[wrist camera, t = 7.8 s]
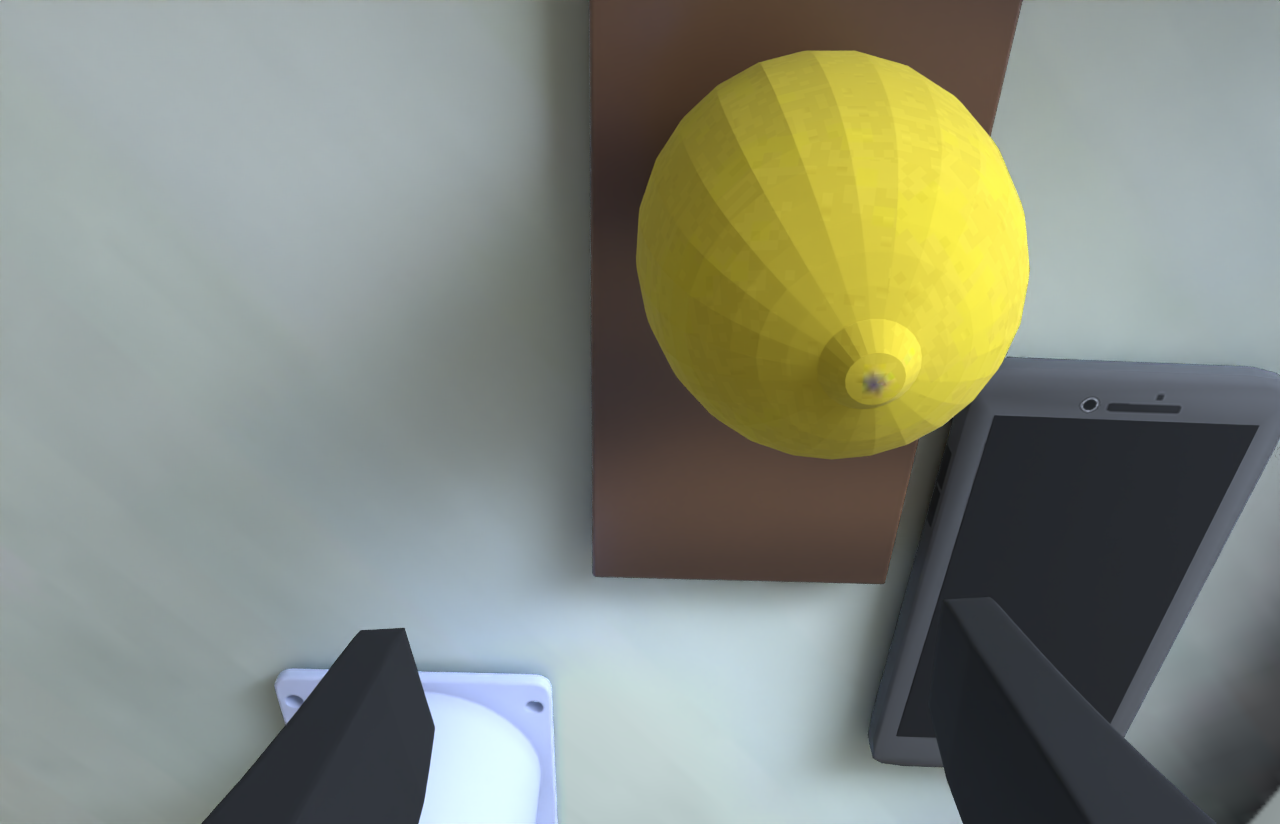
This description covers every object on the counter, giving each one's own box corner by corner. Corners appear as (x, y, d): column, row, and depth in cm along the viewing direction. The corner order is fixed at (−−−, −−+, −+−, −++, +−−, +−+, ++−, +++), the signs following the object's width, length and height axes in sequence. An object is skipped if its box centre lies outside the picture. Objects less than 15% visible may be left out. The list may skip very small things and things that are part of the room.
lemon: (585, 112, 16) (537, 293, 9) (869, -51, 15) (1061, 20, 8) (717, 346, 19) (755, 622, 12) (970, 227, 17) (1180, 464, 10)
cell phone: (861, 746, 27) (866, 768, 26) (969, 350, 20) (979, 366, 19) (1096, 754, 27) (1106, 776, 26) (1292, 363, 20) (1313, 380, 19)
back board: (877, 559, 23) (885, 585, 22) (594, 552, 23) (592, 578, 22) (1115, -502, 12) (1149, -528, 12) (590, -518, 12) (585, -546, 11)
